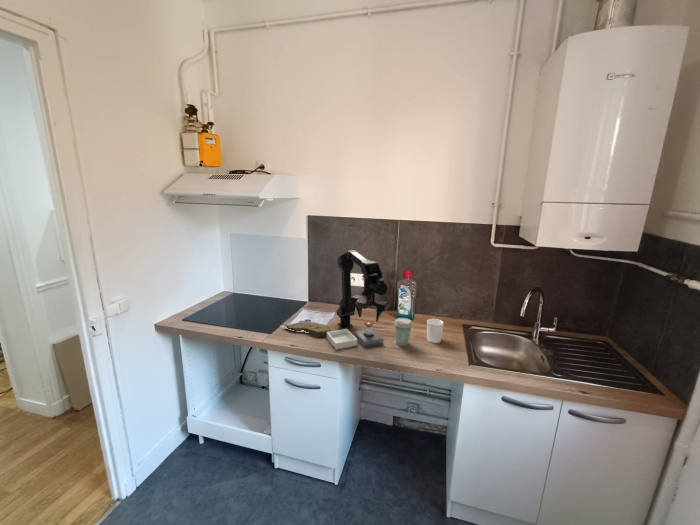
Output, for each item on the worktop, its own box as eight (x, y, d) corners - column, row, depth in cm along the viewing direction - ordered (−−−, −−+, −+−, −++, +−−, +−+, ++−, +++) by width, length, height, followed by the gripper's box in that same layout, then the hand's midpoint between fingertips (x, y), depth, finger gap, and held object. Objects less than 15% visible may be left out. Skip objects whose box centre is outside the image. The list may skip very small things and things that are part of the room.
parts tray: (326, 337, 156) (326, 332, 156) (346, 334, 161) (346, 328, 160) (335, 349, 144) (335, 343, 144) (357, 345, 149) (357, 339, 148)
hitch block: (354, 337, 157) (354, 331, 157) (371, 333, 161) (372, 328, 161) (364, 347, 147) (365, 341, 146) (383, 343, 151) (383, 338, 150)
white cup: (431, 344, 150) (432, 325, 148) (423, 337, 158) (424, 319, 156) (445, 342, 153) (446, 324, 150) (436, 335, 160) (438, 318, 158)
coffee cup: (390, 340, 154) (391, 318, 151) (405, 338, 157) (406, 316, 154) (398, 348, 146) (400, 325, 143) (414, 346, 149) (415, 322, 146)
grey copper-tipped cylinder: (362, 339, 155) (363, 322, 153) (370, 337, 157) (371, 320, 155) (366, 343, 151) (367, 325, 149) (374, 341, 153) (375, 324, 151)
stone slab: (336, 328, 166) (335, 320, 164) (328, 341, 156) (327, 333, 154) (292, 323, 174) (291, 316, 172) (282, 336, 164) (280, 328, 162)
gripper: (343, 289, 142) (343, 320, 146) (380, 297, 132) (378, 330, 136) (356, 283, 151) (355, 312, 155) (390, 290, 142) (388, 321, 145)
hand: (368, 319), depth 148 cm, fingers open, 9 cm apart
